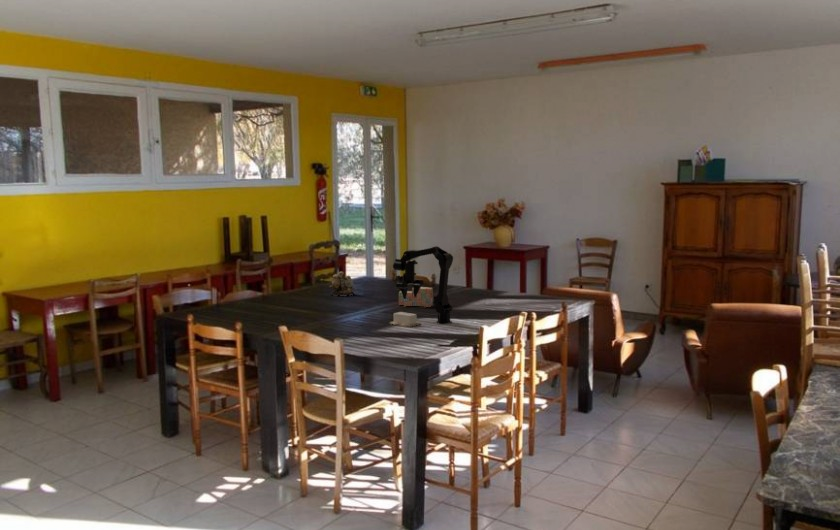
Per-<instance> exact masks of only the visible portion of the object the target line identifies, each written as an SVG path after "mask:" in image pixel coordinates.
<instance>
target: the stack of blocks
mask: <svg viewBox="0 0 840 530" xmlns="http://www.w3.org/2000/svg"><path fill="white" fill-rule="evenodd" d="M433 292H434V288H433V287H428V286H426V287H425V286H421V287H420V289H419V291H418V293H417V295H416V297H414V288H413V287H412V288H411V290H408V291H407V296H406V299H404V297H403V295H402V292H401V290H400V291H399V292H398V306H399V305H404V306H403V307H406V306H424V307H423V308H426V307H431V306H432V305H433V306H434V303H433V302H434V295H433V294H434V293H433ZM433 306H432V307H433ZM432 307H431V308H432Z"/></svg>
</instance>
